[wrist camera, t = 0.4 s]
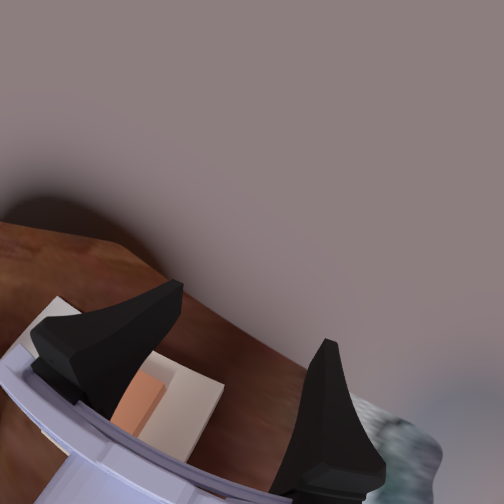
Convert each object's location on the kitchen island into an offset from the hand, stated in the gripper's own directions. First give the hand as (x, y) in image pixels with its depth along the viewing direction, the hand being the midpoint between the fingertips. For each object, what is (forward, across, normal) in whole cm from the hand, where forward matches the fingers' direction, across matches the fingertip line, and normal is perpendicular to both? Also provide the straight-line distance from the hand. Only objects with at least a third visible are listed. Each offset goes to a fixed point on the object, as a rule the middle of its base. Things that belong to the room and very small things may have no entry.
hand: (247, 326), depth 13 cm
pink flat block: (-1, +9, +18) cm, 20 cm away
